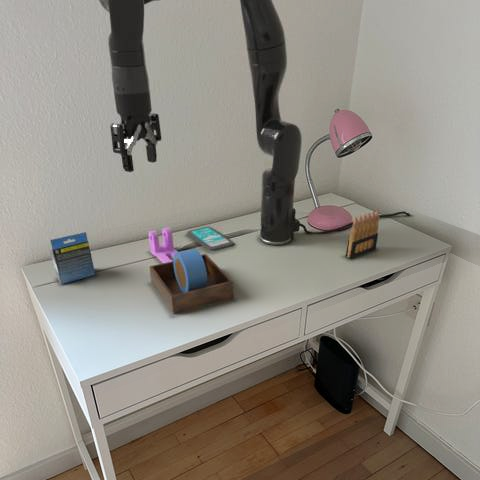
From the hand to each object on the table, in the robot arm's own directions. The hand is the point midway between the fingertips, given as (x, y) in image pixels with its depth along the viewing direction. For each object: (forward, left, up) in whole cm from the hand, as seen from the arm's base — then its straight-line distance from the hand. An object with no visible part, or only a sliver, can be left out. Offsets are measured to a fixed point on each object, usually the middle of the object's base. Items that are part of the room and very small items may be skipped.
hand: (141, 166), depth 107 cm
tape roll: (-5, +15, -27) cm, 31 cm away
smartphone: (-21, -10, -28) cm, 36 cm away
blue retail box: (+19, -5, -28) cm, 34 cm away
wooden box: (-5, +15, -27) cm, 31 cm away
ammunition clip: (-56, +17, -28) cm, 65 cm away
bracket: (-6, -4, -28) cm, 29 cm away
